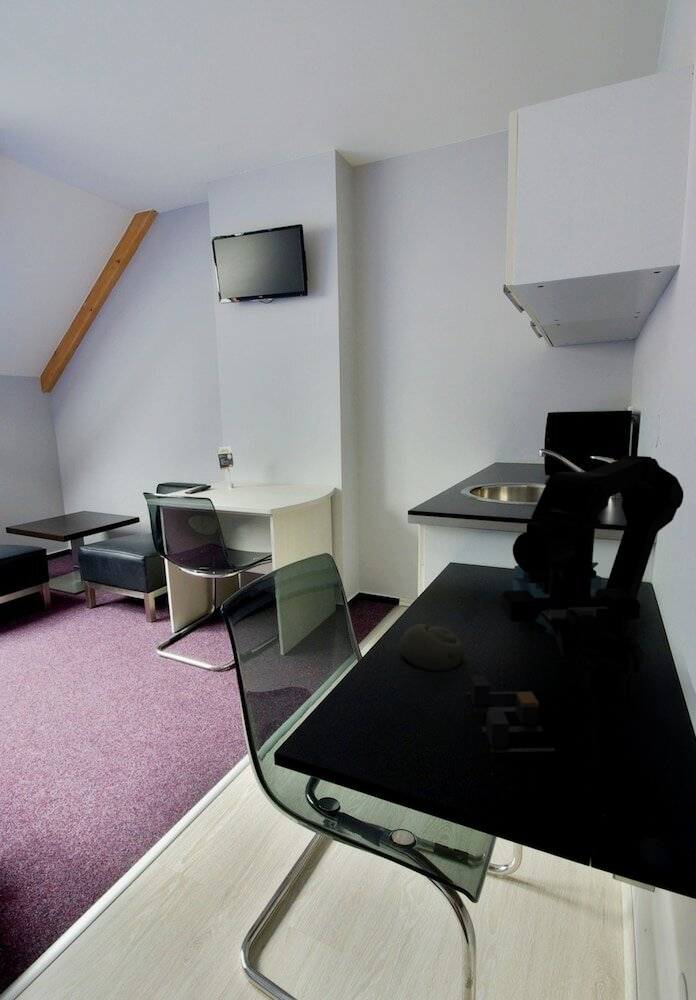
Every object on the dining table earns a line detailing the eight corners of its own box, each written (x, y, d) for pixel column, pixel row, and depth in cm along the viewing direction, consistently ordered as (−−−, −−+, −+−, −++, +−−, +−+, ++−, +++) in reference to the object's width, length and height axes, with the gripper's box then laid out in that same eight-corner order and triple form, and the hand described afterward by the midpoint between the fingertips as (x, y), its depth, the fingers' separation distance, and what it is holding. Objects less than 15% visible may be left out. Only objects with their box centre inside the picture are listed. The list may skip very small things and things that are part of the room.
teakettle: (600, 647, 103) (605, 579, 100) (505, 633, 110) (508, 569, 107) (594, 613, 120) (598, 554, 117) (512, 602, 127) (515, 547, 124)
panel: (544, 696, 86) (544, 689, 85) (588, 761, 70) (589, 752, 70) (439, 698, 86) (439, 691, 85) (460, 763, 70) (460, 754, 70)
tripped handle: (530, 713, 79) (531, 691, 78) (537, 724, 76) (538, 702, 75) (515, 713, 79) (516, 692, 78) (522, 725, 76) (523, 703, 75)
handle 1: (484, 695, 84) (484, 675, 83) (489, 706, 81) (489, 685, 80) (470, 696, 84) (470, 676, 83) (474, 706, 81) (474, 685, 80)
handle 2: (502, 733, 74) (503, 711, 73) (508, 747, 71) (509, 723, 70) (485, 734, 74) (486, 711, 73) (491, 747, 71) (492, 724, 70)
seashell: (465, 621, 99) (456, 636, 90) (467, 661, 99) (458, 680, 90) (403, 619, 104) (388, 632, 95) (405, 656, 104) (391, 674, 95)
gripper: (607, 542, 81) (600, 632, 84) (491, 545, 81) (489, 635, 84) (647, 564, 70) (638, 666, 73) (514, 567, 70) (510, 669, 73)
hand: (565, 657), depth 76 cm, fingers closed
